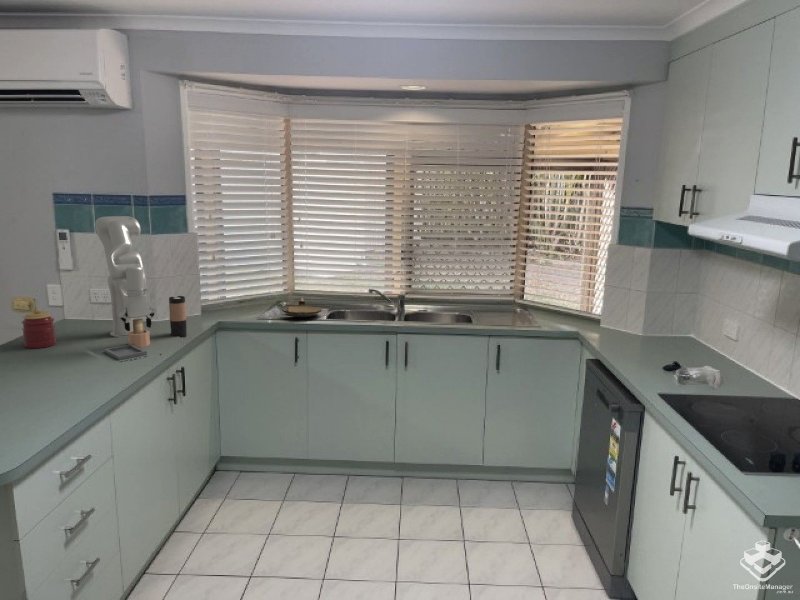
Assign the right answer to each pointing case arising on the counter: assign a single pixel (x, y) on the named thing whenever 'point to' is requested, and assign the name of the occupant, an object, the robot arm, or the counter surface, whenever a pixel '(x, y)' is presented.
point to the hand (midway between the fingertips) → (138, 328)
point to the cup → (139, 339)
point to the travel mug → (177, 316)
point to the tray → (125, 352)
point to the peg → (138, 326)
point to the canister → (38, 329)
